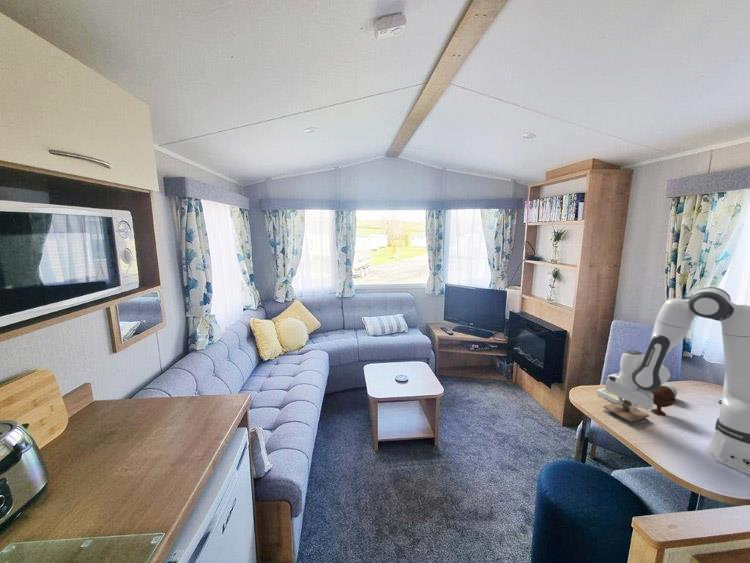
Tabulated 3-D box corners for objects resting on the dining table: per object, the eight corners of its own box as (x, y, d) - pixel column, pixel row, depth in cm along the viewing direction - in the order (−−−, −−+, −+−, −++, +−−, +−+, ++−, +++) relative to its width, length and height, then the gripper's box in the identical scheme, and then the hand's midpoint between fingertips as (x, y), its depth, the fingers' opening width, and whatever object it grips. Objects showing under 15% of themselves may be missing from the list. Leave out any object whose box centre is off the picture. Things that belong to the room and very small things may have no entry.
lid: (649, 416, 150) (650, 405, 149) (630, 422, 146) (632, 411, 145) (621, 402, 162) (622, 392, 161) (603, 407, 158) (604, 397, 157)
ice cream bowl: (660, 407, 161) (664, 380, 159) (679, 419, 150) (683, 391, 148) (639, 406, 162) (642, 380, 160) (655, 419, 151) (659, 391, 149)
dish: (634, 401, 166) (635, 396, 166) (619, 405, 163) (619, 400, 162) (611, 390, 178) (612, 386, 177) (596, 394, 174) (597, 389, 174)
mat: (648, 420, 150) (648, 419, 150) (630, 426, 146) (630, 425, 146) (620, 406, 162) (620, 405, 162) (603, 411, 159) (603, 410, 158)
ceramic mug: (676, 398, 169) (678, 385, 167) (674, 403, 163) (676, 390, 162) (651, 391, 177) (652, 378, 175) (648, 396, 171) (649, 383, 170)
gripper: (658, 391, 142) (654, 418, 145) (612, 372, 162) (610, 396, 164) (649, 393, 141) (645, 420, 143) (604, 374, 160) (601, 398, 162)
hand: (626, 407), depth 154 cm, fingers closed on lid, 3 cm apart
